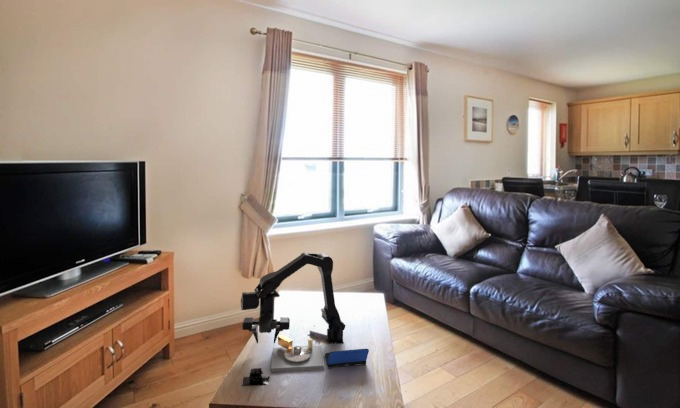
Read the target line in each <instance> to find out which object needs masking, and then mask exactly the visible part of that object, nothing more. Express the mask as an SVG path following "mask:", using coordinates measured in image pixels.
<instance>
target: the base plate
mask: <svg viewBox="0 0 680 408" xmlns="http://www.w3.org/2000/svg"><path fill="white" fill-rule="evenodd" d="M307 342H308V343H307V345H303V347H306V348H308V349H309V350H310V351H311V356H310V358H309V359H308V360H307V361H304V362H301V363H292V362H289V361H287V360H286V359H285V357H284V353H285V351H286V350H287V349H286V348H284V347H282V346H280V347H272V357H271V363H270V364H271V367H270V372H271V373H278V372H280V373H281V372H300V371H317V370H325V364H324V362H325V361H324V357H323V350H322V345H314V344H313V338H308V340H307Z"/></svg>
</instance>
